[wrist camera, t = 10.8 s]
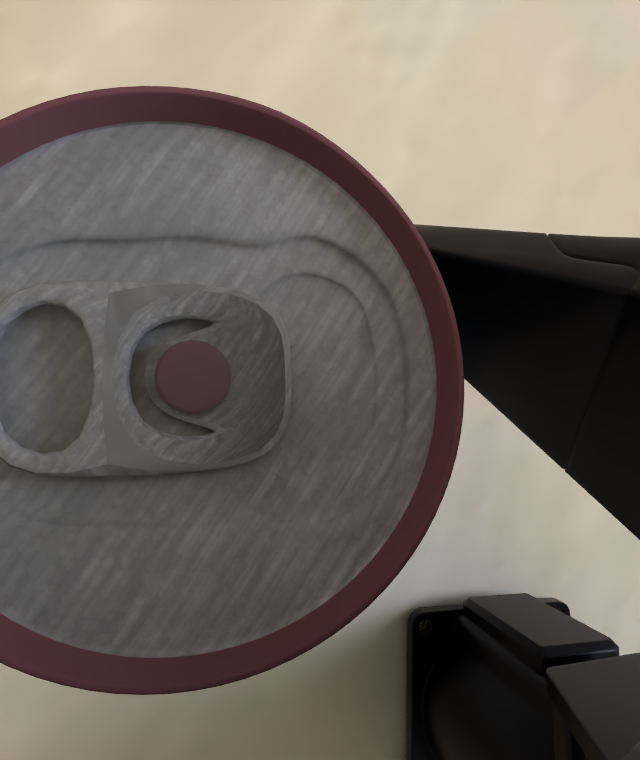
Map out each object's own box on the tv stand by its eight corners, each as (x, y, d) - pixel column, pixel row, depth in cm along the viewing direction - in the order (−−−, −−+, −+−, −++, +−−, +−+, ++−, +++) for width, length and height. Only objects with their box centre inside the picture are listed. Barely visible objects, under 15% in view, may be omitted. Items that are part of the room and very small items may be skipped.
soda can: (298, 308, 17) (499, 77, 6) (302, 504, 17) (535, 700, 5) (88, 303, 15) (-249, -47, 4) (86, 520, 15) (-315, 868, 3)
